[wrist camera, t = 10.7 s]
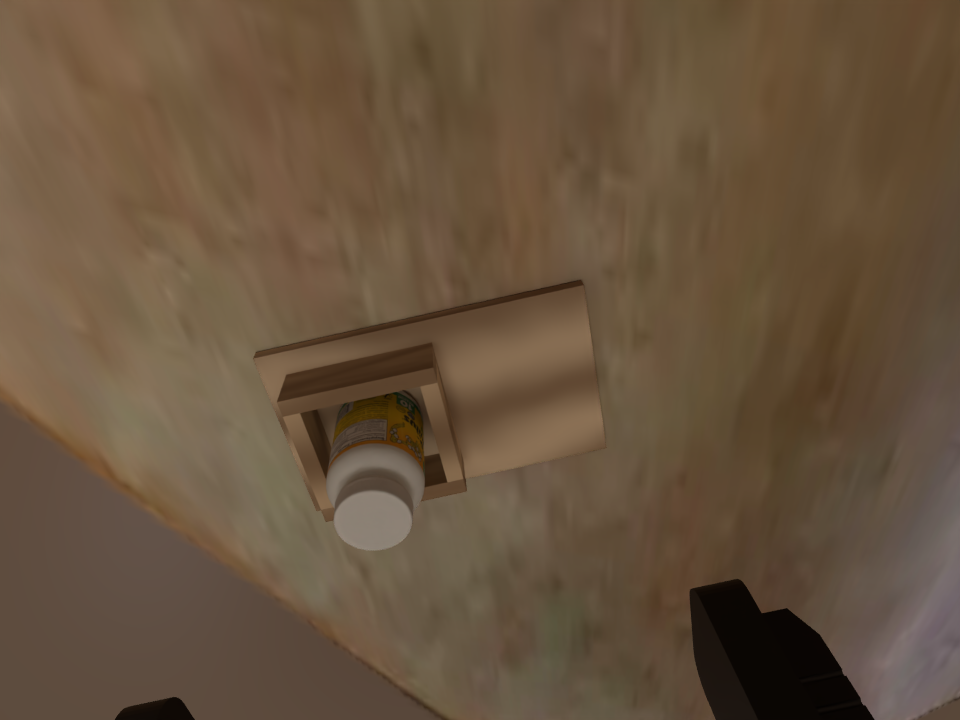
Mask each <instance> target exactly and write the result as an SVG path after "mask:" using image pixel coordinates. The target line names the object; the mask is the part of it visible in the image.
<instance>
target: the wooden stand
mask: <svg viewBox="0 0 960 720" xmlns="http://www.w3.org/2000/svg"><path fill="white" fill-rule="evenodd" d="M253 359H254V362H255V364H256V367H257V369H258V371H259V374H260V376H261V379H262V381H263V383H264V386H265V388H266V391H267V393H268V395H269V398H270V400H271V403H272V405H273V407H274V410H275V412H276V415H277V417H278V419H279V422H280V424H281V427H282V429H283V431H284V434H285V436H286V439H287V441H288V443H289V446H290V448H291V451H292V453H293V455H294V458H295V460H296V463H297V465H298V467H299V470H300V472H301V475H302V477H303V479H304V482H305V484H306V487H307V489H308V492H309V494H310V496H311V499H312V501H313V504H314V506H315V508H316V511H320V510H321V511H322V514H323V516H324V518H325V521H326V522H328V521H333V520H334V510H335V508H334V507H333V506H332V504H331V502H330V500H329V498H328V495H327V491H326V478H327V471H328V466H329V460H330V454H331V449H332V444H333V438H334V432H335V426H336V420H337V416H338V413H339V410H340V407H341V405H342V404H344V403H348V402H353V401H357V400H362V399H366V398H371V397H375V396H380V395H384V394H389V393H393V392H398V391H403V392H405V393H406V394H408V395H409V396H410V397H412V398H413V399H414V400H415V401H416V403H417V404H418V406H419V408H420V410H421V413H422V417H423V432H424V463H425V464H424V467H425V488H424V494H423V497H422V499H421V501H425V500H429V499H434V498H439V497H443V496H448V495H452V494H457V493H462V492H466V491H467V488H466V479H467V478H471V477H476V476H481V475H485V474H490V473H494V472H499V471H504V470H508V469H513V468H517V467H522V466H527V465H531V464H536V463H540V462H545V461H549V460H554V459H559V458H563V457H568V456H572V455H577V454H582V453H586V452H591V451H595V450H600V449H605V448H606V442H605V434H604V427H603V420H602V413H601V405H600V398H599V391H598V384H597V376H596V369H595V362H594V355H593V347H592V340H591V333H590V326H589V318H588V311H587V304H586V297H585V289H584V284H583V283H582V281H581V280H579V281H575V282H570V283H566V284H561V285H557V286H552V287H548V288H543V289H539V290H534V291H530V292H525V293H521V294H516V295H512V296H507V297H503V298H498V299H494V300H490V301H485V302H481V303H476V304H472V305H467V306H463V307H458V308H454V309H449V310H445V311H440V312H436V313H431V314H427V315H422V316H418V317H413V318H409V319H404V320H400V321H395V322H391V323H386V324H382V325H377V326H373V327H368V328H364V329H359V330H355V331H350V332H346V333H341V334H337V335H332V336H328V337H323V338H319V339H314V340H310V341H305V342H301V343H296V344H292V345H287V346H283V347H278V348H274V349H269V350H265V351H260V352H256V354H255V356H254V358H253Z"/></svg>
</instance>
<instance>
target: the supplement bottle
mask: <svg viewBox="0 0 960 720" xmlns="http://www.w3.org/2000/svg"><path fill="white" fill-rule="evenodd" d="M424 464H425V463H424V432H423V417H422V413H421V410H420V408H419V406H418V404H417V403H416V401H415V400H414V399H413V398H412V397H410V396H409V395H408V394H406V393H405V392H403V391H398V392H393V393H389V394H384V395H380V396H375V397H371V398H366V399H362V400H357V401H353V402H348V403H344V404H342V405H341V407H340V410H339V413H338V416H337V420H336V426H335V432H334V438H333V444H332V449H331V454H330V460H329V466H328V471H327V478H326V491H327V495H328V498H329V500H330V502H331V504H332V506H333V507H334V508H335V510H334V526H335V529H336V531H337V533H338V535H339V536H340V537H341V538H342V539H343V540H344V541H345V542H346V543H348V544H349V545H351V546H354V547H356V548H359V549H363V550H371V551H373V550H383V549H387V548H390V547H393V546H395V545H397V544H398V543H400V542H401V541H402V540H404V539H405V537H406V536H407V535H408V533H409V532H410V530H411V527H412V521H413V511H414V510H415V509H416V508H417V506H418V505H419V503H420V502H421V499H422V497H423V494H424V488H425V467H424Z"/></svg>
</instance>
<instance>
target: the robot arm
mask: <svg viewBox="0 0 960 720" xmlns="http://www.w3.org/2000/svg"><path fill="white" fill-rule="evenodd" d="M690 608H691V622H692V635H693V649H694V657H695V662H696V666H697V670H698V674H699V677H700V681H701V684H702V687H703V689H704V692H705V695H706V697H707V700H708V702H709V704H710V707H711V709H712V712H713V714H714V716H715V719H716V720H874V718H873V717H872V715H871V714H870V712H869V710H868V709H867V707H866V706H865V705H863V704H862V702H861V699H860V696H859V695H858V693H857V692H856V690H855V689H854V687H853V686H852V684H851V683H850V681H849V679H848V678H847V676H844V675H843V672H842V669H841V667H840V665H839V664H838V662H837V661H836V659H835V658H834V656H833V655H832V653H831V651H830V650H829V648H828V647H827V645H826V644H825V642H824V641H823V639H822V638H821V636H820V634H818V633H817V632H816V631H815V630H813V629H812V628H811V627H810V626H808V625H807V624H806V623H805V622H803V621H802V620H801V619H800V618H798V617H797V616H796V615H795V614H793V613H792V612H791V611H790V610H788V609H787V608H786V609H781V610H776V611H772V612H767V613H761V611H760V610H759V608H758V606H757V604H756V603H755V601H754V599H753V597H752V596H751V594H750V592H749V590H748V589H747V587H746V586H745V584H744V583H743V582H742V581H741V580H740V579H734V580H730V581H725V582H720V583H716V584H711V585H706V586H702V587H697V588H692V589H690ZM115 720H195V719H194V718H193V717H192V715H191V714H190V712H189V710H188V709H187V707H186V706H185V704H184V703H183V702H182V700H180V699H179V698H177V697H172V698H167V699H163V700H158V701H153V702H148V703H144V704H139V705H134V706H130V707H127V708H124V709H123V710H122V711H121V712H120V713H119V714H118V715H117V717H116V719H115Z"/></svg>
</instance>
